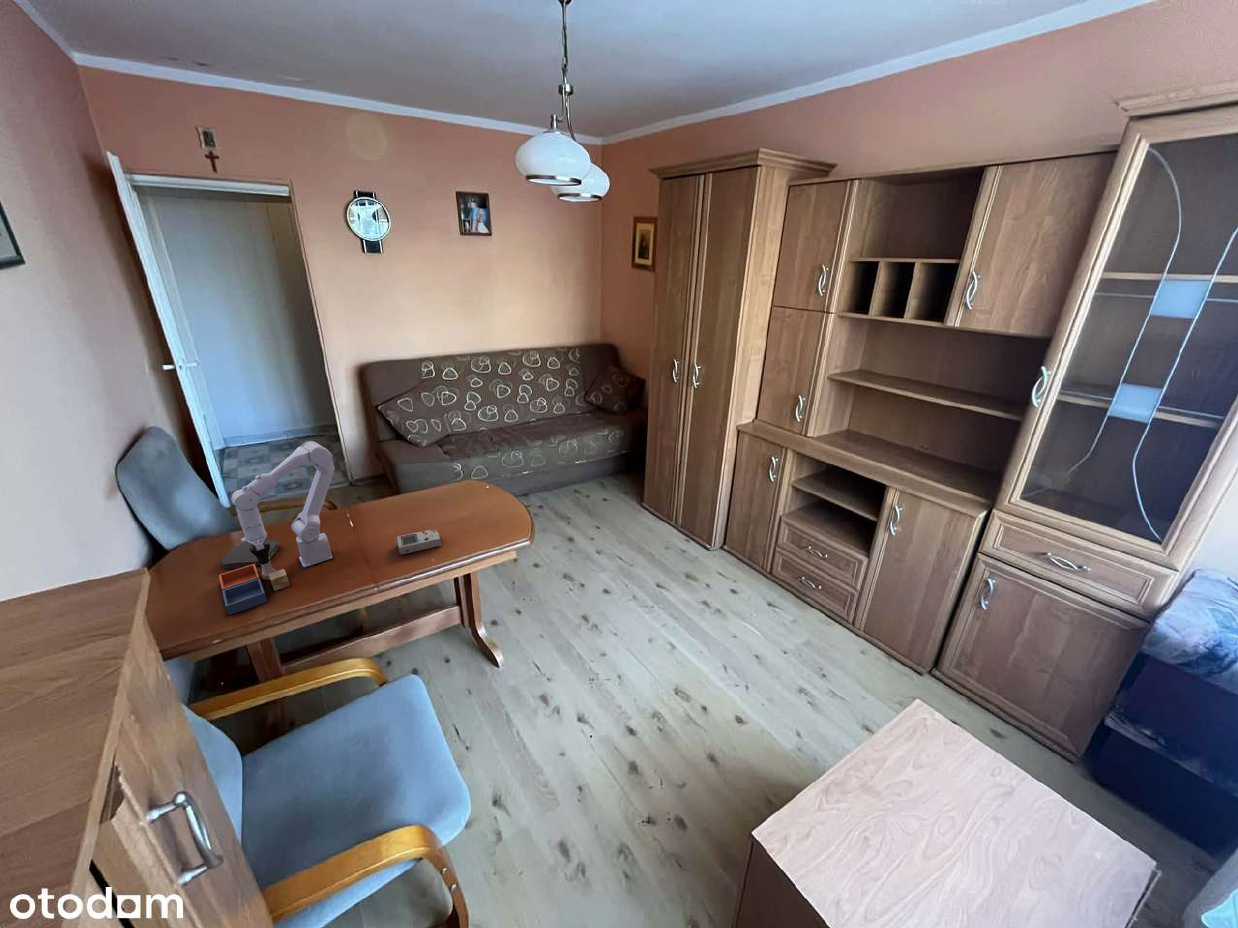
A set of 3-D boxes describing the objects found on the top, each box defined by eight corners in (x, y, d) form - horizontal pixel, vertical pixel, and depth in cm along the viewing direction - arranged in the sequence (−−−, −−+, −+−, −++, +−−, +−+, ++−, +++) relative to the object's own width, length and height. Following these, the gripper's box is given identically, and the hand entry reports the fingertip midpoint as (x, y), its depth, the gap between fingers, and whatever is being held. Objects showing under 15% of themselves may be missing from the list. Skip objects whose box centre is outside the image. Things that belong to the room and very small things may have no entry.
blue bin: (262, 586, 170) (259, 578, 168) (267, 601, 162) (264, 592, 161) (225, 599, 163) (222, 590, 162) (229, 615, 156) (225, 606, 155)
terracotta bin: (257, 571, 177) (254, 563, 176) (262, 585, 170) (259, 576, 169) (221, 583, 171) (218, 574, 170) (225, 598, 164) (221, 589, 163)
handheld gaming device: (441, 546, 193) (440, 538, 191) (400, 556, 187) (398, 547, 185) (438, 536, 200) (436, 527, 199) (398, 544, 194) (396, 536, 192)
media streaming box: (218, 570, 178) (216, 563, 176) (240, 548, 191) (238, 541, 190) (264, 567, 180) (261, 559, 179) (282, 545, 193) (280, 538, 192)
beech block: (287, 579, 173) (284, 568, 171) (290, 585, 170) (286, 574, 168) (272, 584, 171) (268, 573, 169) (274, 591, 167) (270, 579, 166)
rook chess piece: (266, 573, 177) (260, 553, 173) (280, 572, 177) (274, 553, 174) (259, 580, 172) (252, 561, 169) (273, 580, 173) (266, 560, 170)
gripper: (234, 519, 169) (246, 553, 174) (240, 537, 159) (252, 572, 164) (259, 512, 173) (270, 546, 178) (266, 529, 163) (277, 564, 168)
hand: (263, 558), depth 172 cm, fingers open, 7 cm apart
